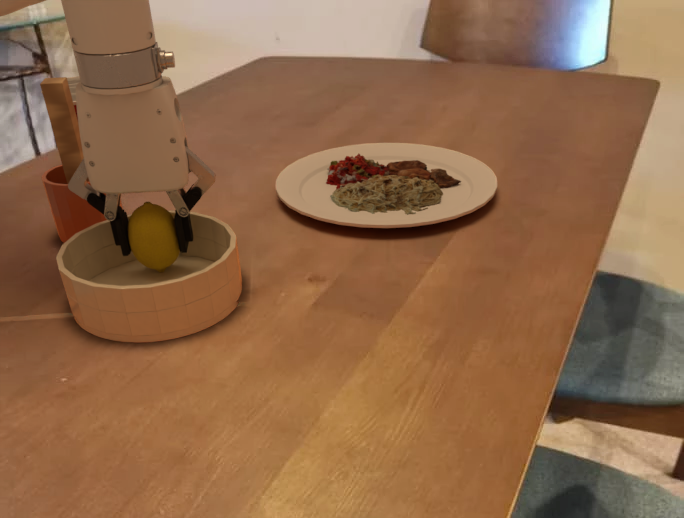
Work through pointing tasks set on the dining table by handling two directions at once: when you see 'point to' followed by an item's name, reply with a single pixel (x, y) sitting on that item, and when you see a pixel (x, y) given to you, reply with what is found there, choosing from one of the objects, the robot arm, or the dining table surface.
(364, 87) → the dining table surface
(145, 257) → the lemon
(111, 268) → the bowl
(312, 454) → the dining table surface
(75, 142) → the wooden stirring stick
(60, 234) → the crock
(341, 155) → the plated food
